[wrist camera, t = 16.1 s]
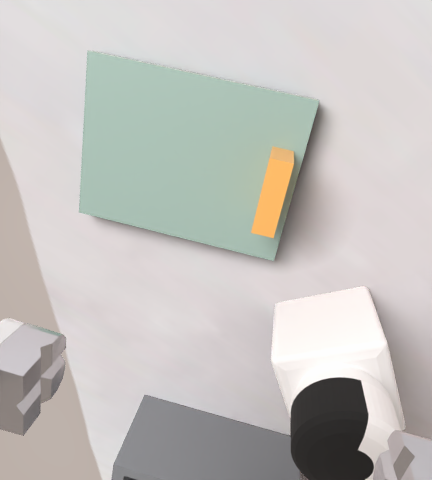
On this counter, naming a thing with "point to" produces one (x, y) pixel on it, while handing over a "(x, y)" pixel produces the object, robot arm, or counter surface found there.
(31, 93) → the counter surface
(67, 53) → the counter surface
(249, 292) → the counter surface
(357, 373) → the container
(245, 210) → the lid
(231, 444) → the tub
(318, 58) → the counter surface
